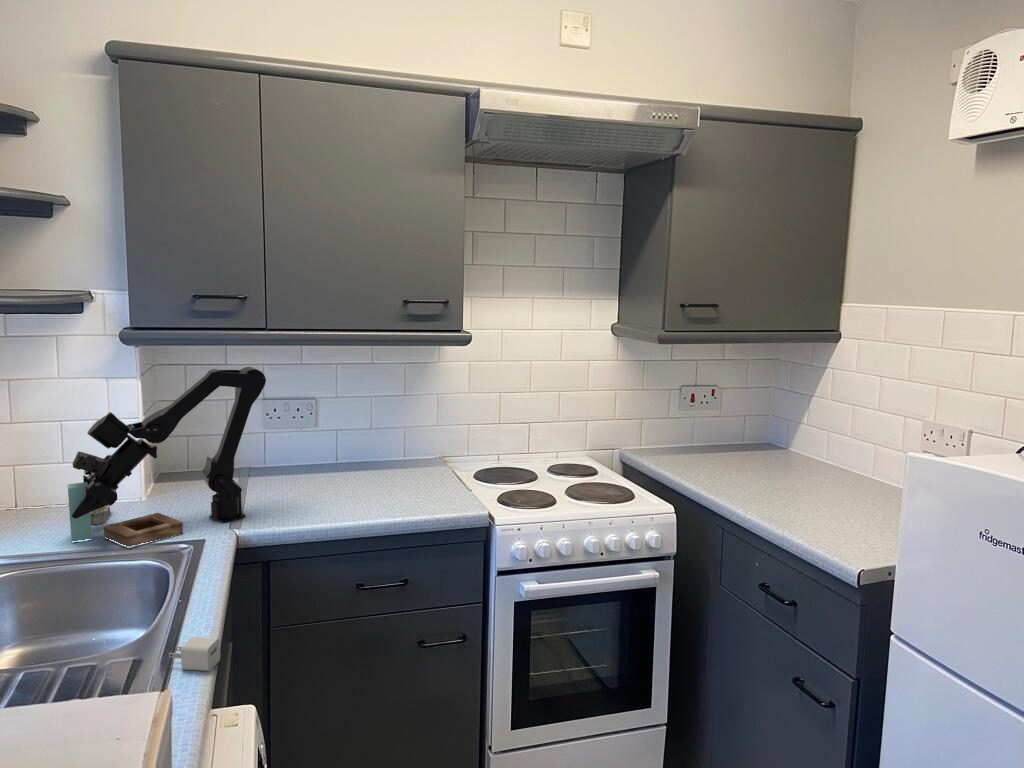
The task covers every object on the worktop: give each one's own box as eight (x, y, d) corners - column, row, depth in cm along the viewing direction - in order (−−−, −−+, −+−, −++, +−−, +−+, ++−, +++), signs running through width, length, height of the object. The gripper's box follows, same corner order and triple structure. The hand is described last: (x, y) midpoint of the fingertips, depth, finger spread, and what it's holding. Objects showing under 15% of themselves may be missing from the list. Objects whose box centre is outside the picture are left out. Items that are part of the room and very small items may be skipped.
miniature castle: (81, 514, 188) (80, 499, 188) (114, 512, 190) (113, 497, 190) (70, 528, 178) (69, 511, 178) (104, 525, 180) (103, 509, 180)
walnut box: (158, 524, 181) (158, 512, 181) (183, 533, 175) (182, 521, 175) (104, 538, 171) (103, 526, 170) (128, 549, 165) (127, 536, 164)
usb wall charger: (208, 673, 115) (207, 649, 114) (165, 670, 115) (164, 646, 115) (220, 659, 119) (219, 636, 118) (179, 657, 119) (178, 634, 119)
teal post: (90, 535, 173) (87, 482, 171) (91, 540, 169) (88, 486, 168) (71, 538, 171) (67, 484, 169) (71, 543, 167) (67, 488, 166)
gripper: (92, 431, 177) (41, 482, 172) (97, 447, 161) (41, 503, 157) (130, 460, 182) (82, 509, 178) (139, 477, 166) (86, 532, 162)
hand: (72, 512), depth 168 cm, fingers open, 7 cm apart
